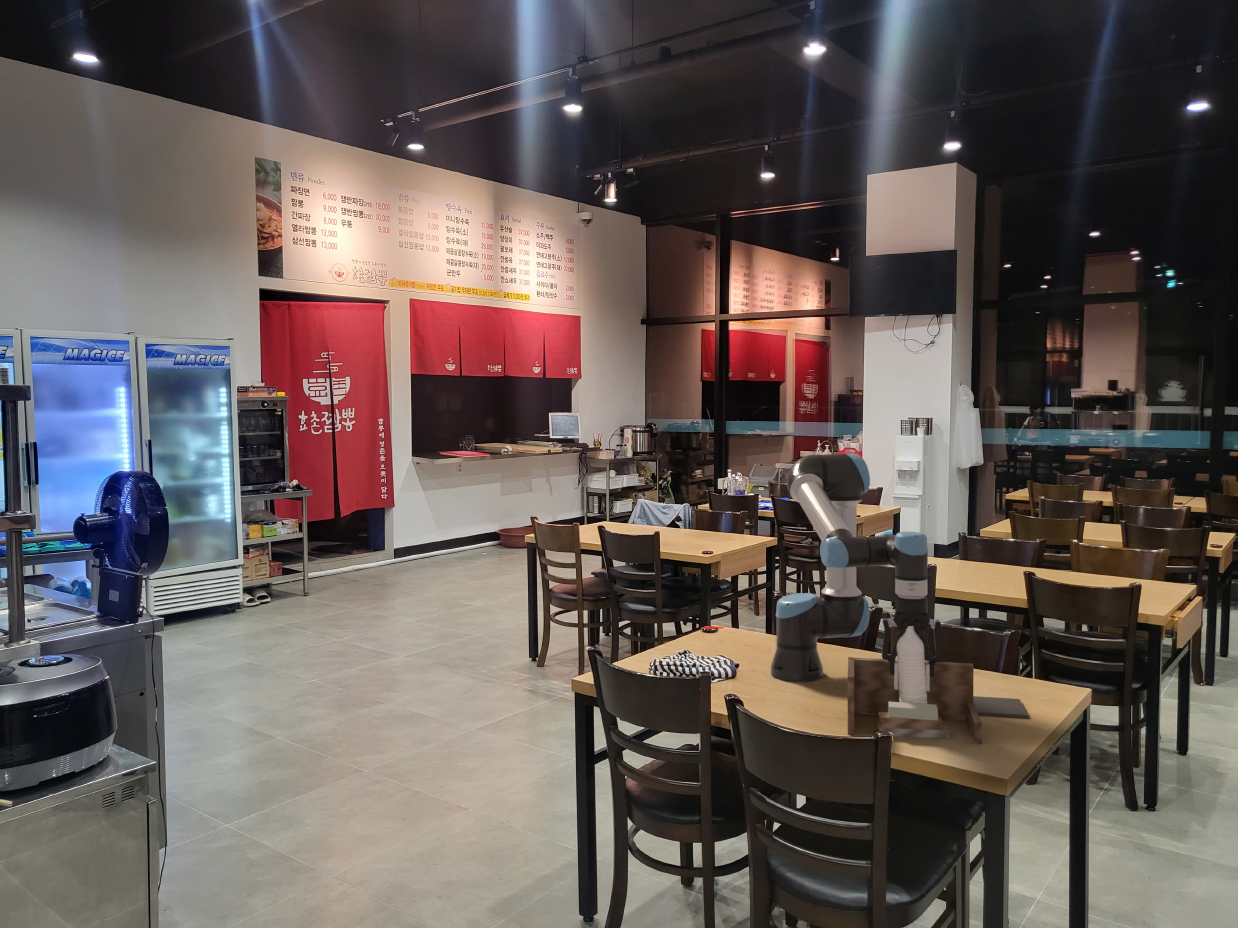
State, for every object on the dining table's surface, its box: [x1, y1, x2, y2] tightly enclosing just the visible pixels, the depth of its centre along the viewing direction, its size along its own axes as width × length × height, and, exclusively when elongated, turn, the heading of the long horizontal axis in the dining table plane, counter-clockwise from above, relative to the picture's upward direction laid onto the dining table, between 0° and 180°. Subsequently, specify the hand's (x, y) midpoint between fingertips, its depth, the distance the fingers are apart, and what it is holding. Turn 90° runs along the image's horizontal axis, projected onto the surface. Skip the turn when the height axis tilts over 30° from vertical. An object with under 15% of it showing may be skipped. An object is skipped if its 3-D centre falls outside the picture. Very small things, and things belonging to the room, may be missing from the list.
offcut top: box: [888, 702, 938, 721], centre depth 214 cm, size 11×4×2 cm, turn 75°
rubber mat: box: [973, 695, 1030, 719], centre depth 231 cm, size 13×13×1 cm
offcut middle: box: [877, 712, 943, 730], centre depth 214 cm, size 14×4×2 cm, turn 83°
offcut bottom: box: [877, 722, 951, 740], centre depth 214 cm, size 16×4×2 cm, turn 80°
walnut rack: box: [847, 656, 983, 745], centre depth 219 cm, size 30×18×14 cm, turn 75°
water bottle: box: [892, 622, 927, 704], centre depth 220 cm, size 9×6×25 cm
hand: (911, 688), depth 220 cm, fingers closed on water bottle, 7 cm apart
